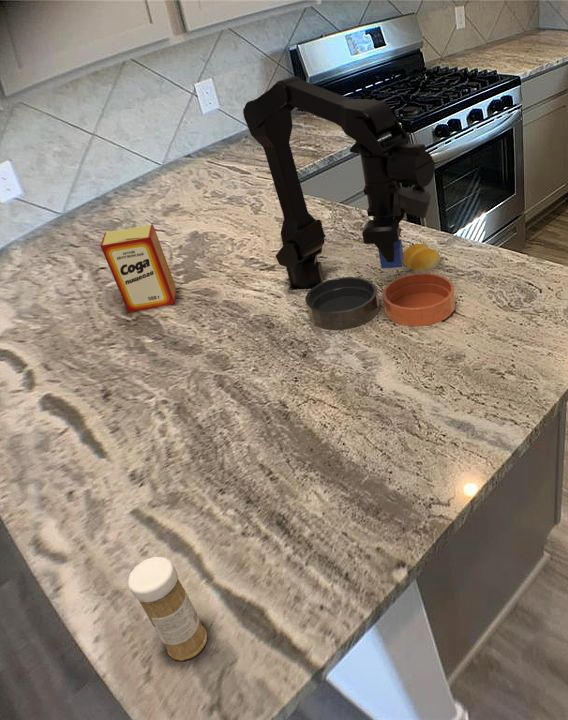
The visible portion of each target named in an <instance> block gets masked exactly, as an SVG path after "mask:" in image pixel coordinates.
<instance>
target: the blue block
mask: <svg viewBox="0 0 568 720" xmlns="http://www.w3.org/2000/svg"><path fill="white" fill-rule="evenodd" d="M403 252H404V250H403V242H402V239H401V238H399V241H397V242H394V261H393V262H387V260H386V259H385V258H384V256H383V255H382V253H381V252H380V251H379V250H378V256H379V263H380V269H396V268H403V265H404V264H403V259H404V256H403Z"/></svg>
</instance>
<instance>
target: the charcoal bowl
mask: <svg viewBox="0 0 568 720" xmlns="http://www.w3.org/2000/svg"><path fill="white" fill-rule="evenodd" d="M379 299H380V298H379V293H378V288H377V287H376V284H374V283H373V282H372V281H371V280H369V279H366V278H363V277H359V276H358V277H357V276H341V277H340V276H339V277H335V278H331V279H328V280H324V281H322V283H320V284H318V285H316V286H315V287H313V288H312V289H309V291H308V292H307V293H306V295H305V298H304V300H305V304H306V309H307V313H308V317H309V321H310V322H311V324H313V325H314V326H315V327H318V328H321V329H323V330H331V331H340V330H342V331H343V330H349V329H353V328H357V327H359V326H362V325H365V324H366V323H368V322H370V321H371V320H372V319H374V318H375V317H376V316H377V314H378V313H379V310H380V300H379Z"/></svg>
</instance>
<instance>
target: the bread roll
mask: <svg viewBox="0 0 568 720" xmlns="http://www.w3.org/2000/svg"><path fill="white" fill-rule="evenodd" d="M403 256H404V259H403V264H402V265H404V266H405V267H407V268H408V269H410V270H412V271H414V272H415V271H416V272H419V271H420V272H421V271H428V270H432V269H434V268H437V267H438V266H439V264H440V263H441V255H440V253H439V251H438V250H436V249H433V248H431V247H430V246H428V245H426V244H424V243H415V244H412V245H410V246H408V247H406V248H405V250H403Z"/></svg>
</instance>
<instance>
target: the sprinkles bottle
mask: <svg viewBox="0 0 568 720" xmlns="http://www.w3.org/2000/svg"><path fill="white" fill-rule="evenodd" d="M127 586H128V588H129V590H130V592H131V594H132V596H133V597H134V598H135V599H136V600H137V601H138V602H139V604H140V606H141V607H142V609H143V610H144V613H145V614H146V616H147V617H148V619H149V621H150V622H151V626H152V627H153V629H154V631H155V632H156V634H157V636H158V638H159V639H160V640H161V642H162V643H163V645H164V647H165V648H166V650H167V651H166V652H167V654H168V655H169V657H170V658H171V659H173V660H176V661H181V662H183V661H187V660H189V659H193V658H195V657H196V656H197V655H199V654H200V652H202V650H203V649H204V648H205V646H206V644H207V642H208V631H207V630H206V628H205V627H204V625H202V622H201V620H200V617H199V615H198V613H197V610H196V608H195V607H194V605H193V603H192V601H191V599H190V597H189V595H188V593H187V591H186V589H185V588H184V587H183V584H182V583H181V581H180V579H179V575H178V571H177V569H176V567H175V566H174V564H173V562H172V561H171V559H169V558H168V557H164V556H154V557H150V558H146V559H145V560H143V561H141V562H140V563H138V564H137V565H136V566H135V567H134V568H133V569H132V571H131V572H130V574H129V575H128V579H127Z"/></svg>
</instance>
